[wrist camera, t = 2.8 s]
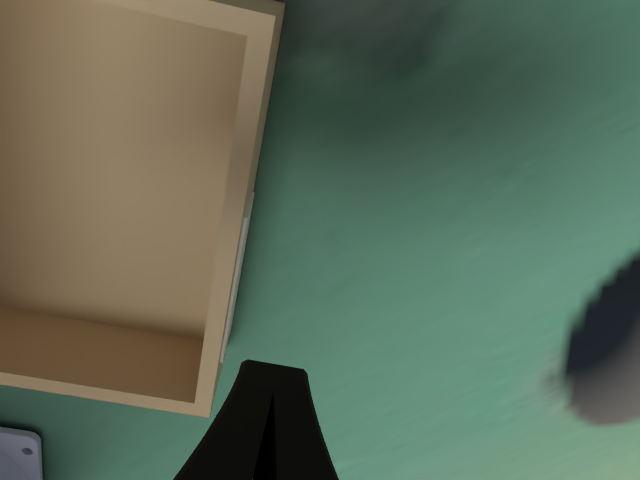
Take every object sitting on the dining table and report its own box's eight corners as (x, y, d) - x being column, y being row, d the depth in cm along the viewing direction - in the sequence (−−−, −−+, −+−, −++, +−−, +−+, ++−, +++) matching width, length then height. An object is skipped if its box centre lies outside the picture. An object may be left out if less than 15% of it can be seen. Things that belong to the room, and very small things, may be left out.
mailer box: (229, 347, 23) (211, 418, 19) (-12, 305, 22) (-76, 372, 18) (289, 4, 16) (279, 16, 13) (-50, -78, 15) (-161, -87, 12)
